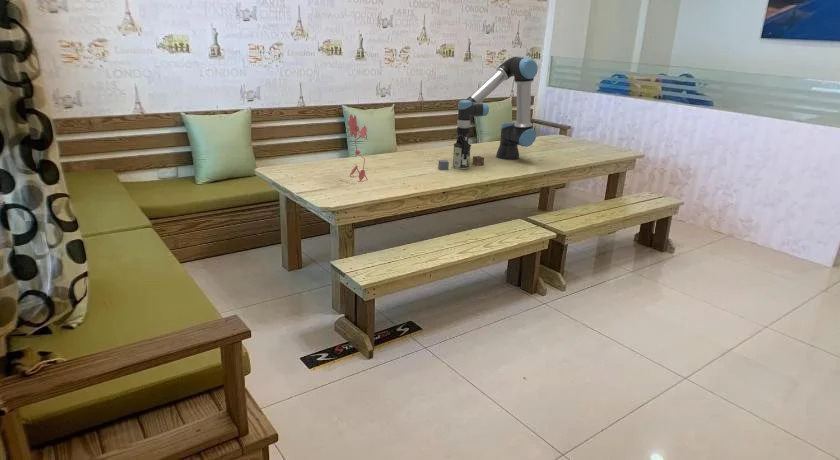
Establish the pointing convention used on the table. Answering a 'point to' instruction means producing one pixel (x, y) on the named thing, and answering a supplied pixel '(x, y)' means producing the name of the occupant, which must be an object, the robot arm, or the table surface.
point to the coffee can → (460, 156)
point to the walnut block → (478, 160)
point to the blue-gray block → (443, 165)
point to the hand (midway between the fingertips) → (461, 161)
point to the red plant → (353, 131)
